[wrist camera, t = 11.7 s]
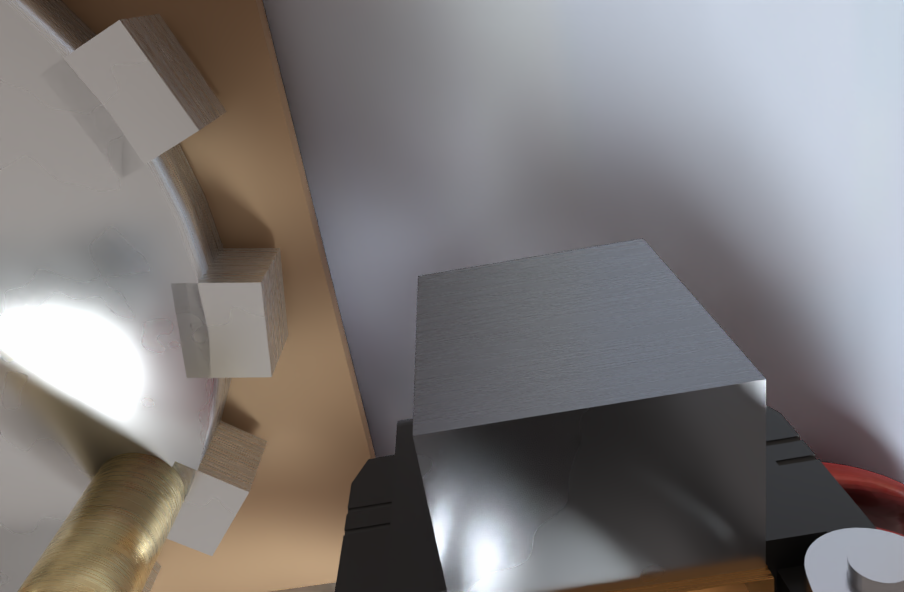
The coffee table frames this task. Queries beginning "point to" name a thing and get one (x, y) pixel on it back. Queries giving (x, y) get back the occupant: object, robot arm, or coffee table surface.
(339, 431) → the board
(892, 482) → the plant pot
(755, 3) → the coffee table surface
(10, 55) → the sprocket
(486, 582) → the grey rectangular block
